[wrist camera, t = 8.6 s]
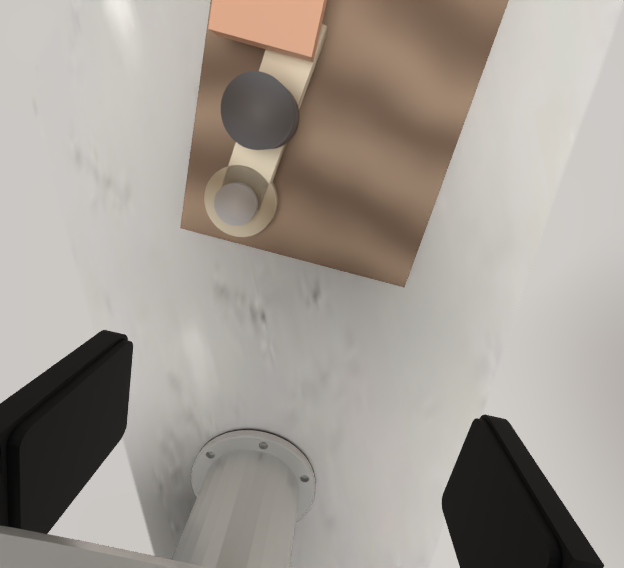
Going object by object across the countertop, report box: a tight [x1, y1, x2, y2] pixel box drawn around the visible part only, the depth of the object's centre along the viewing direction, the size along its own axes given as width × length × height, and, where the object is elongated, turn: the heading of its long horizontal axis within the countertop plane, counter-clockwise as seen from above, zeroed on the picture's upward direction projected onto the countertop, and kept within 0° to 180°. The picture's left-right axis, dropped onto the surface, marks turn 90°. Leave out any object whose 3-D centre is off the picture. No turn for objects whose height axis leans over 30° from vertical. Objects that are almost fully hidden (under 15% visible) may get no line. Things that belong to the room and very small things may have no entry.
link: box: [204, 24, 328, 237], centre depth 25 cm, size 14×5×6 cm, turn 157°
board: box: [180, 0, 509, 287], centre depth 26 cm, size 23×18×5 cm
